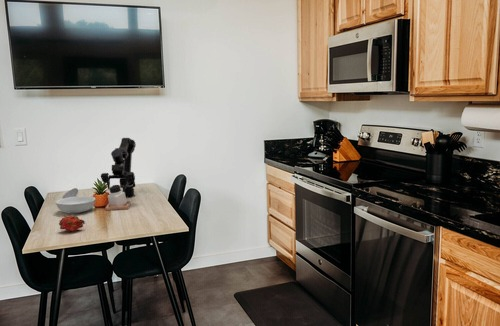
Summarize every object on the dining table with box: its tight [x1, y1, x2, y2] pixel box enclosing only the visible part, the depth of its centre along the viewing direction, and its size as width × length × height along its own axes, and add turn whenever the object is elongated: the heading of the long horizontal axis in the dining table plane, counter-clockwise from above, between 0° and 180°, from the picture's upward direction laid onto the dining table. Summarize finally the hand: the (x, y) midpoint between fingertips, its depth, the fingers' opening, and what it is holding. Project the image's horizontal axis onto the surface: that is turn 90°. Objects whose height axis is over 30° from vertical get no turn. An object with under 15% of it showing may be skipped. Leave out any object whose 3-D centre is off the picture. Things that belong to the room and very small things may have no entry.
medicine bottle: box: [107, 184, 127, 207], centre depth 249 cm, size 7×7×12 cm
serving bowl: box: [55, 195, 96, 214], centre depth 244 cm, size 21×21×7 cm
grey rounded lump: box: [61, 187, 79, 199], centre depth 267 cm, size 11×10×10 cm
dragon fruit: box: [58, 215, 86, 233], centre depth 206 cm, size 8×8×12 cm
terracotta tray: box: [105, 200, 132, 212], centre depth 250 cm, size 12×12×2 cm
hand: (116, 188), depth 247 cm, fingers open, 9 cm apart
